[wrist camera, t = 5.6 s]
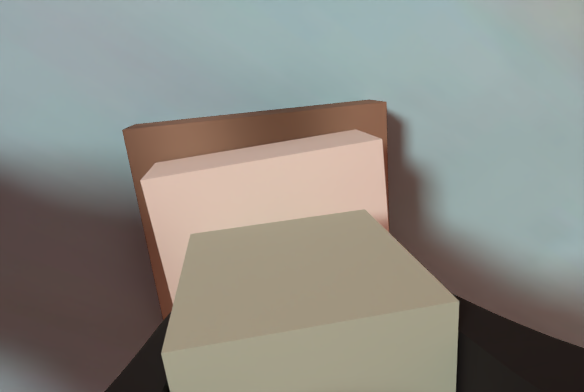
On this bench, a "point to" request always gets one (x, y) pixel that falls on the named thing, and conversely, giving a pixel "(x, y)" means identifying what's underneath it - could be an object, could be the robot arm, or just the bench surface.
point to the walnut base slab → (238, 147)
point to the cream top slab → (262, 188)
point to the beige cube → (309, 312)
